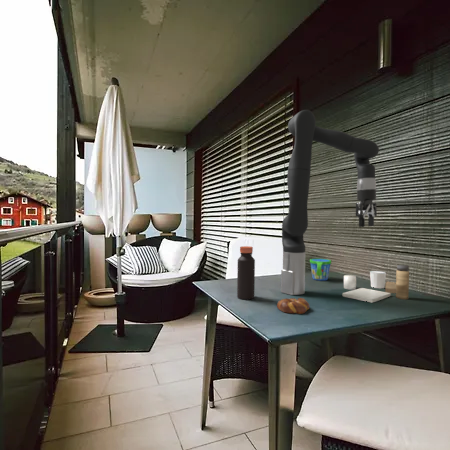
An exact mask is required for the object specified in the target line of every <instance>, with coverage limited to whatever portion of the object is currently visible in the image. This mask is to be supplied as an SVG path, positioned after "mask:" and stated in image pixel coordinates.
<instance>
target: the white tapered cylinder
mask: <svg viewBox="0 0 450 450" xmlns="http://www.w3.org/2000/svg"><path fill="white" fill-rule="evenodd" d="M369 276H370V287H371V288H373V287H374V288H373V289H384V288H385V285H386V279H387V272H385V271H381V270H371V271H369Z"/></svg>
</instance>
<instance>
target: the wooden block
mask: <svg viewBox="0 0 450 450" xmlns="http://www.w3.org/2000/svg"><path fill="white" fill-rule="evenodd" d="M384 292H387V293H391V294H395V293H396V281H395V282H394V281H392V282H391V281H385V291H384Z"/></svg>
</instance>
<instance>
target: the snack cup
mask: <svg viewBox="0 0 450 450" xmlns="http://www.w3.org/2000/svg"><path fill="white" fill-rule="evenodd" d="M309 263H310V269H311V276H312V279H313V281H314V280H315V281H320V282H322V281H328V279H329V274H330V270H331V269H330V268H331V264H332V260H331V259H329V258H328V259H326V258H310V259H309Z"/></svg>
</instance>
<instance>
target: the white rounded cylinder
mask: <svg viewBox="0 0 450 450" xmlns="http://www.w3.org/2000/svg"><path fill="white" fill-rule="evenodd" d="M343 289H346V290H351V291H352V290H356V289H357V276H356V275H353V274H352V275H351V274H345V275H343Z"/></svg>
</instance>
